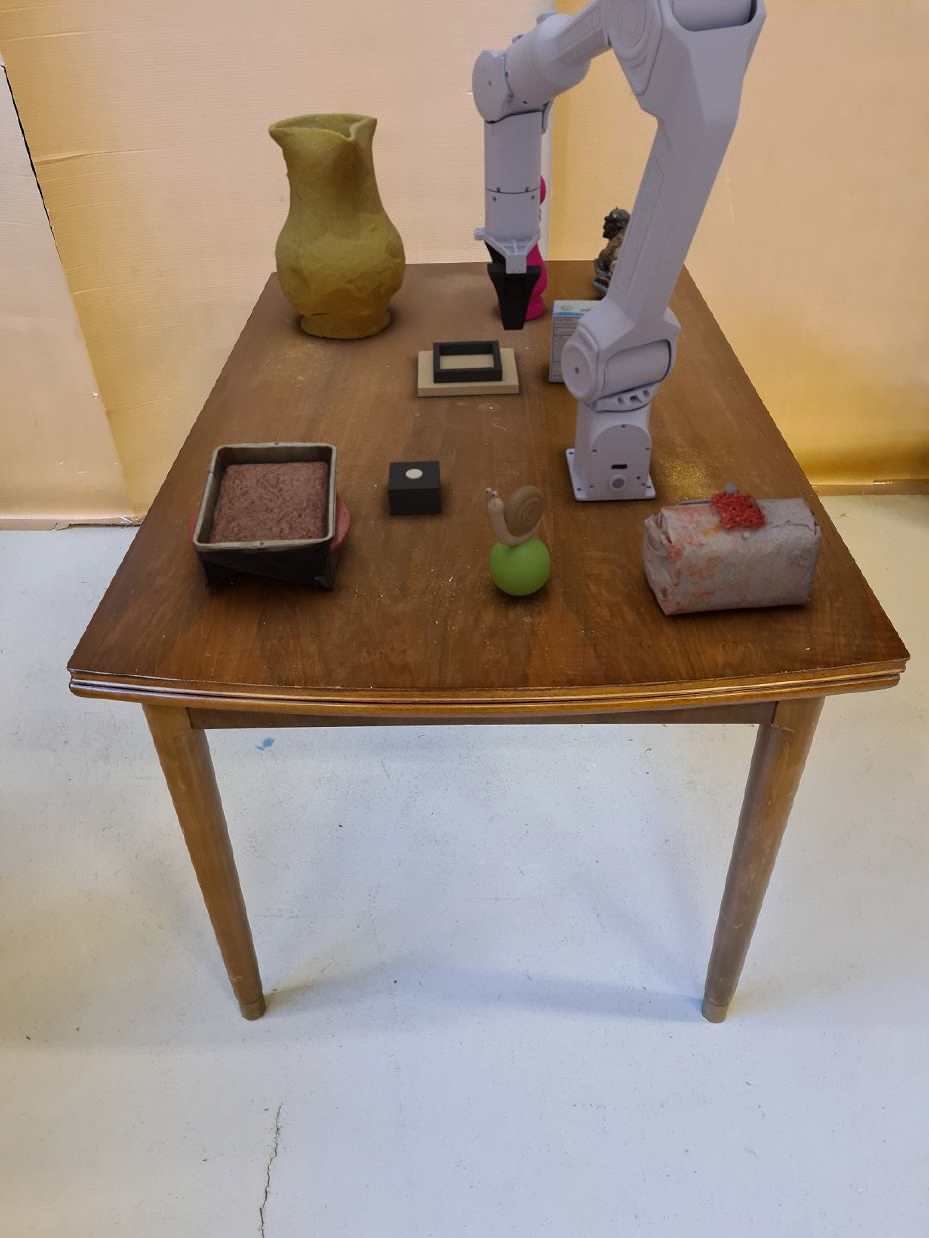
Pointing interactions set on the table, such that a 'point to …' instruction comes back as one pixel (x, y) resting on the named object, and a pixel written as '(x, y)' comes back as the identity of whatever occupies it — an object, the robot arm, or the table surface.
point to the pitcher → (336, 227)
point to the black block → (414, 487)
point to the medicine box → (564, 330)
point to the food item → (731, 552)
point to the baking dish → (271, 513)
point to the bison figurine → (610, 249)
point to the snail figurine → (518, 542)
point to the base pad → (467, 369)
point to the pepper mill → (535, 259)
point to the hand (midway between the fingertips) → (511, 314)
